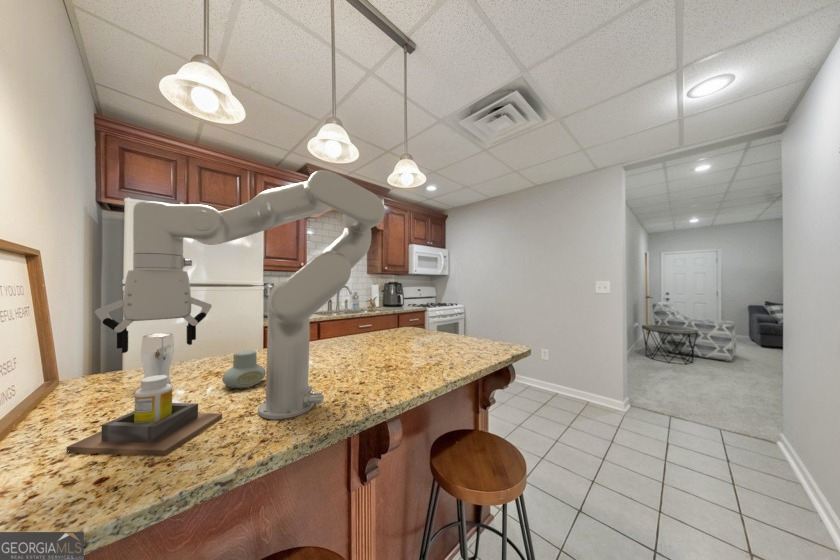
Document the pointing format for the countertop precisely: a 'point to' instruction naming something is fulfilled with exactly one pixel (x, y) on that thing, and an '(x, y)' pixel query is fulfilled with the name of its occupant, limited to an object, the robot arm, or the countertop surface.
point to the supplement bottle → (153, 400)
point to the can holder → (147, 433)
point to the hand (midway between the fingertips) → (159, 347)
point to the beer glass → (157, 354)
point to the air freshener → (244, 370)
